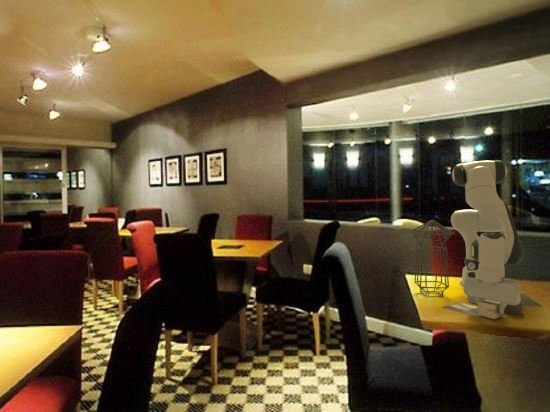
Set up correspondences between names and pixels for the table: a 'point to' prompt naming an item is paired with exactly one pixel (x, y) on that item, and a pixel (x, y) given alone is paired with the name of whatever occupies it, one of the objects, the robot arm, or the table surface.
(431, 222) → the geometric lantern
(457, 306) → the board
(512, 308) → the vase
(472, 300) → the top block
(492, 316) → the block
